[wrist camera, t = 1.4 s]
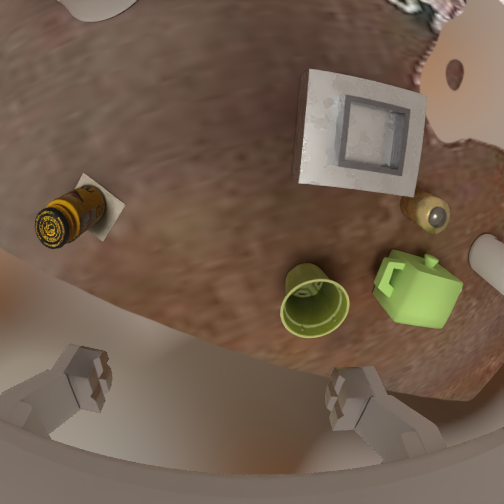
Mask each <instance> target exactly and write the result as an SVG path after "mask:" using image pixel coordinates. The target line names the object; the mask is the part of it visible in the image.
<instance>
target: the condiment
mask: <svg viewBox="0 0 504 504" xmlns="http://www.w3.org/2000/svg"><path fill="white" fill-rule="evenodd" d="M107 205H108V206H107ZM124 206H125V204H124V203H122V202H121V201H120V200H119V199H117V198H116V197H114V196H113V195H112V194H110V193H109V192H108V191H107V190H105V189H104V188H103V187H102V186H100V185H99V184H98V183H96V182H95V181H94V180H93V179H91V178H90V177H89V176H87V175H86V174H84V173H83V174H82V176H81V178H80V180H79V182H78V184H77V186H76V188H75V189H74V190H72V191H70V192H69V193H67V194H65V195H63V196H61V197H59V198H57V199H55V200H53V201H52V202H50V203H49V204H48V205H47V207H46V208H45V209H43V210H41V211H40V212H39V213H38V215H37V217H36V220H35V230H36V234H37V237H38V238H39V240H40V241H41V243H42V244H43V245H45V246H46V247H48V248H50V249H56V248H61V247H62V246H63V245H64V244H67V243H71V242H73V241H74V240H75V239H77V238H78V237H79V236H80V235H81V234H82V233H84V232H85V231H86V230H89V231H90V232H91V233H93V234H94V235H95V236H96V237H98V238H99V239H100V240H102V241H104V240H105V238H106V236H107V235H108V233H109V231H110V230H111V228H112V226H113V225H114V223H115V221H116V220H117V218H118V216H119V215H120V213H121V211H122V210H123V208H124ZM108 207H109V209H108Z"/></svg>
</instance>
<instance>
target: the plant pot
mask: <svg viewBox="0 0 504 504" xmlns="http://www.w3.org/2000/svg"><path fill="white" fill-rule="evenodd" d="M319 281H320V284H319V285H317V284H318V282H319ZM299 293H307V294H305V295H300V294H299ZM348 310H349V297H348V295H347V293H346V291H345V289H344V288H343V287H342V286H341V285H340V284H338V283H337V282H335V281H333V280H330V279H329V278H328V277H327V276H326V275H325V274H324V272H323V271H322V270H321V269H320V268H319V267H318V266H316V265H314V264H311V263H303V264H299V265H297V266H296V267H294V268H293V269H292V270H291V271H289V273H288V274H287V277H286V281H285V298H284V299H283V302H282V304H281V309H280V314H281V320H282V322H283V324H284V326H285V327H286V328H287V330H289V331H290V332H291V333H293V334H294V335H297V336H300V337H304V338H315V337H320V336H323V335H326V334H328V333H330V332H332V331H334V330H335V329H336V328H337V327H338V326H339V325H340V324H341V323H342V322H343V321H344V319H345V318H346V316H347V313H348Z"/></svg>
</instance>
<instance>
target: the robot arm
mask: <svg viewBox="0 0 504 504" xmlns="http://www.w3.org/2000/svg"><path fill="white" fill-rule="evenodd" d="M57 1H59V2H61V3H62V4H63V5H64V6H65V7H66V8H67V9H68V11H69V12H70V13H71V15H72V16H74V17H75V18H77V19H79V20H81V21H86V22H96V21H102V20H105V19H108V18H111V17H113V16H115V15H117V14H119V13H121V12H123V11H124V10H126V9H127V8H129V7H130V6H131V5H132V4H133V3H135V2H136V1H137V0H57ZM108 360H109V358H108V355H107V352H106V351H103V350H98V349H94V348H89V347H84V346H78V345H74V344H69V345H67V347H66V348H65V350H64V351H63V353H62V354H61V356H60V357H59V359H58V360H57V362H56V363H55V365H54V366H53V368H52V369H51V370H46V371H44V372H42V373H40V374H38V375H36V376H34V377H32V378H30V379H28V380H26V381H24V382H22V383H20V384H18V385H16V386H14V387H12V388H10V389H8V390H6V391H4V392H2V394H1V395H0V504H504V427H503V428H501V429H498V430H496V431H493V432H491V433H488V434H486V435H483V436H481V437H478V438H475V439H473V440H470V441H467V442H464V443H461V444H458V445H455V446H452V447H448V448H447V446H446V444H445V442H444V440H443V438H442V436H441V434H440V432H439V430H438V428H437V426H436V425H435V424H434V423H432V422H431V421H429V420H427V419H426V418H424V417H423V416H421V415H420V414H418V413H417V412H415V411H414V410H412V409H411V408H409V407H408V406H406V405H404V404H403V403H402V402H400V401H399V400H398V399H396V398H395V397H393V396H391V395H387V393H386V391H385V389H384V386H383V384H382V382H381V380H380V378H379V376H378V374H377V372H376V370H375V368H374V367H373V366H362V367H345V368H334V369H333V370H332V373H331V379H332V381H331V382H330V383H329V384H328V385H327V389H326V394H325V401H326V406H327V408H328V409H329V410H330V411H331V414H330V417H329V418H330V421H331V425H332V429H333V431H335V430H352V429H355V431H356V432H357V433H358V434H359V435H360V436H361V437H362V438H363V439H364V440H365V441H366V442H367V443H368V444H369V445H370V446H371V447H372V448H373V449H374V450H375V451H376V452H377V453H378V454H379V455H380V456H381V457H382V458H383V461H382V462H381V464H378V465H373V466H367V467H360V468H353V469H346V470H338V471H329V472H318V473H304V474H283V475H240V474H219V473H206V472H196V471H187V470H179V469H171V468H164V467H157V466H152V465H146V464H140V463H136V462H131V461H126V460H122V459H117V458H113V457H108V456H105V455H100V454H97V453H93V452H90V451H86V450H83V449H79V448H76V447H73V446H69V445H66V444H63V443H60V442H57V441H54V440H52V439H51V438H50V436H49V433H51V432H52V431H54V430H55V429H56V428H57V427H59V426H60V425H61V424H63V423H64V422H65V421H67V420H68V419H69V418H70V417H72V416H73V415H74V414H75V413H77V412H78V411H79V410H80V409H83V410H87V411H92V412H97V413H100V412H101V410H102V408H103V405H104V403H105V397H104V395H105V394H106V393H108V392H109V391H110V388H111V385H112V371H111V368H110V367H109V366H108V365H107V362H108Z"/></svg>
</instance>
